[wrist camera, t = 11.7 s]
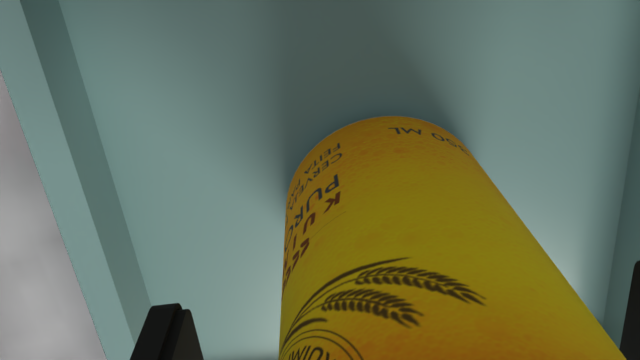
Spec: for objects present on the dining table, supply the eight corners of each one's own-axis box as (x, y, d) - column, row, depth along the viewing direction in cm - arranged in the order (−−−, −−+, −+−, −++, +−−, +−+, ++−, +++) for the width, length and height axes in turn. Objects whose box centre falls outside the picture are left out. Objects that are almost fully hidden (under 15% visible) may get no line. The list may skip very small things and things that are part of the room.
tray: (693, -165, 14) (788, -187, 11) (606, 357, 22) (650, 419, 19) (11, -84, 14) (-57, -86, 12) (166, 403, 22) (148, 470, 19)
